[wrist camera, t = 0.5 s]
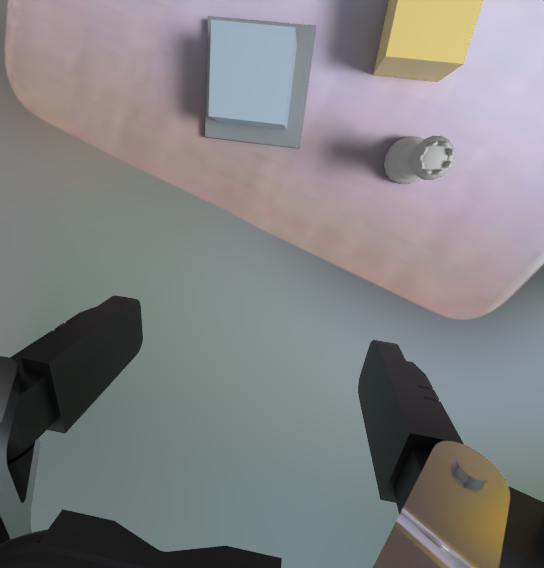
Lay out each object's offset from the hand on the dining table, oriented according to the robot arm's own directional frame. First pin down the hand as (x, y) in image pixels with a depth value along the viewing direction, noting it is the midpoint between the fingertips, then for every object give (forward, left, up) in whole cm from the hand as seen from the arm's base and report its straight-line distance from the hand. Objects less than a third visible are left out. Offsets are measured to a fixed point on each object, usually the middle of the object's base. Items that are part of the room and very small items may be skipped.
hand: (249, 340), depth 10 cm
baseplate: (-13, -5, -25) cm, 29 cm away
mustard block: (-18, +9, -25) cm, 32 cm away
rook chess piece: (-8, +11, -25) cm, 29 cm away
